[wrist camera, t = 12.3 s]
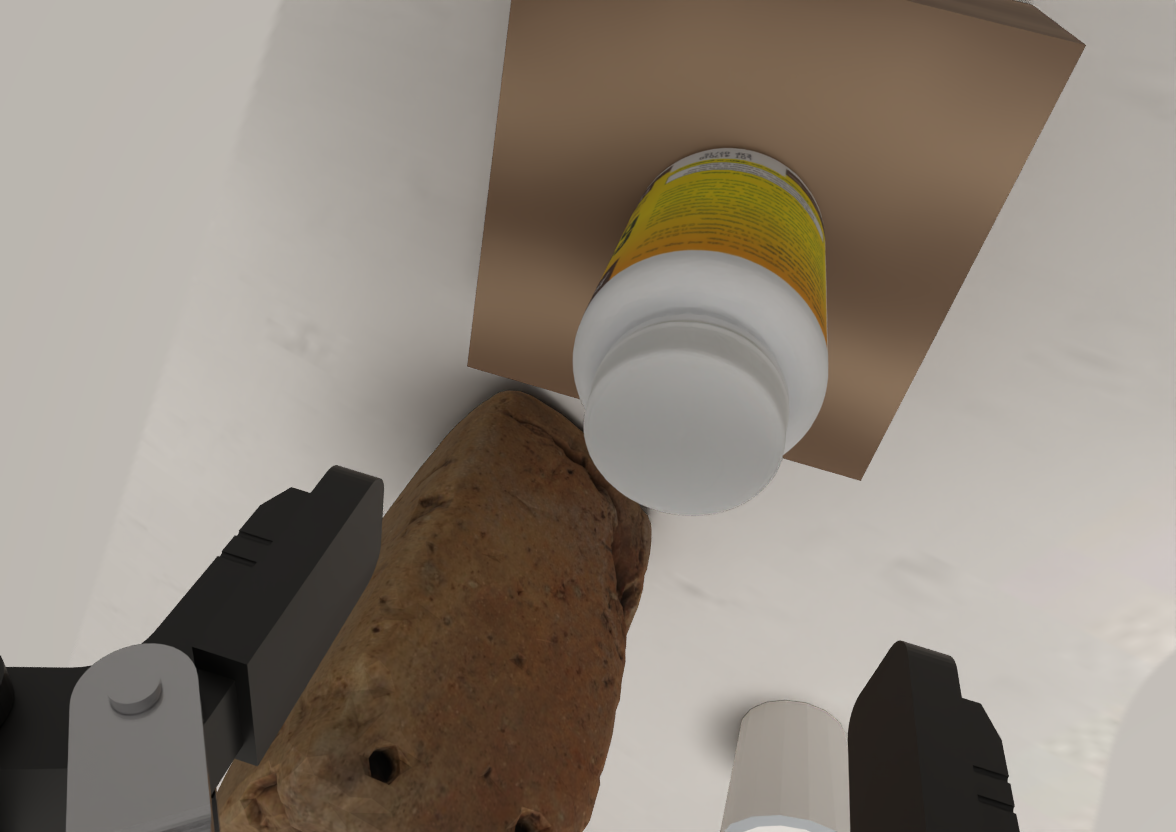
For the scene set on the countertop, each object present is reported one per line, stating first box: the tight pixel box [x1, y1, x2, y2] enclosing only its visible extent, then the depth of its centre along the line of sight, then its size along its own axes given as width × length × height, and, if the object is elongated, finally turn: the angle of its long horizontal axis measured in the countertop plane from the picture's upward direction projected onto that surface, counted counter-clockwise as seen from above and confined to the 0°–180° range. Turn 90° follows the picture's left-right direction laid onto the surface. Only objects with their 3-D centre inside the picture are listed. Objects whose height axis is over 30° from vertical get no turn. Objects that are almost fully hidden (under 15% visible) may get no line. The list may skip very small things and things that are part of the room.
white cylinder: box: [720, 700, 850, 832], centre depth 43 cm, size 7×7×7 cm
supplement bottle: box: [573, 148, 828, 516], centre depth 20 cm, size 6×6×10 cm
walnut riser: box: [467, 0, 1086, 481], centre depth 27 cm, size 14×14×6 cm
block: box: [217, 390, 651, 832], centre depth 31 cm, size 11×8×20 cm
